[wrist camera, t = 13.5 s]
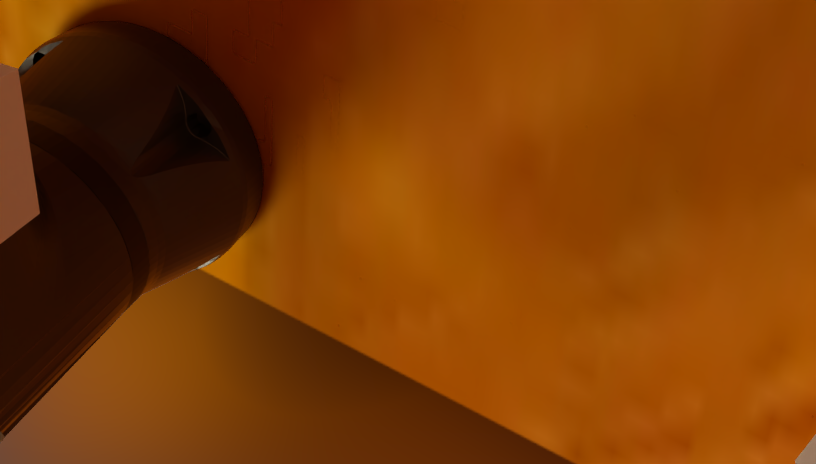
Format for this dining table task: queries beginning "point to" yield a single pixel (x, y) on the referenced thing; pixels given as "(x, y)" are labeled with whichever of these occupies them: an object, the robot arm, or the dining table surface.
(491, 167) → the dining table surface
